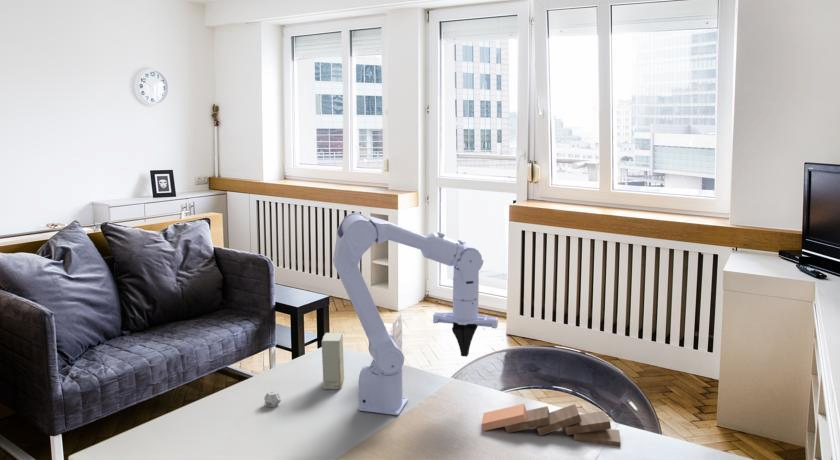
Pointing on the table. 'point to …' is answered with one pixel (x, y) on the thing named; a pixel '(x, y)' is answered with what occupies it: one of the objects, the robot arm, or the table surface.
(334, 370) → the skincare box
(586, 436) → the domino
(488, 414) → the head domino
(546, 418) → the domino
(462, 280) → the robot arm
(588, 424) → the domino
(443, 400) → the table surface
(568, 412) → the domino
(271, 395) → the game die
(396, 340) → the ink cartridge box
